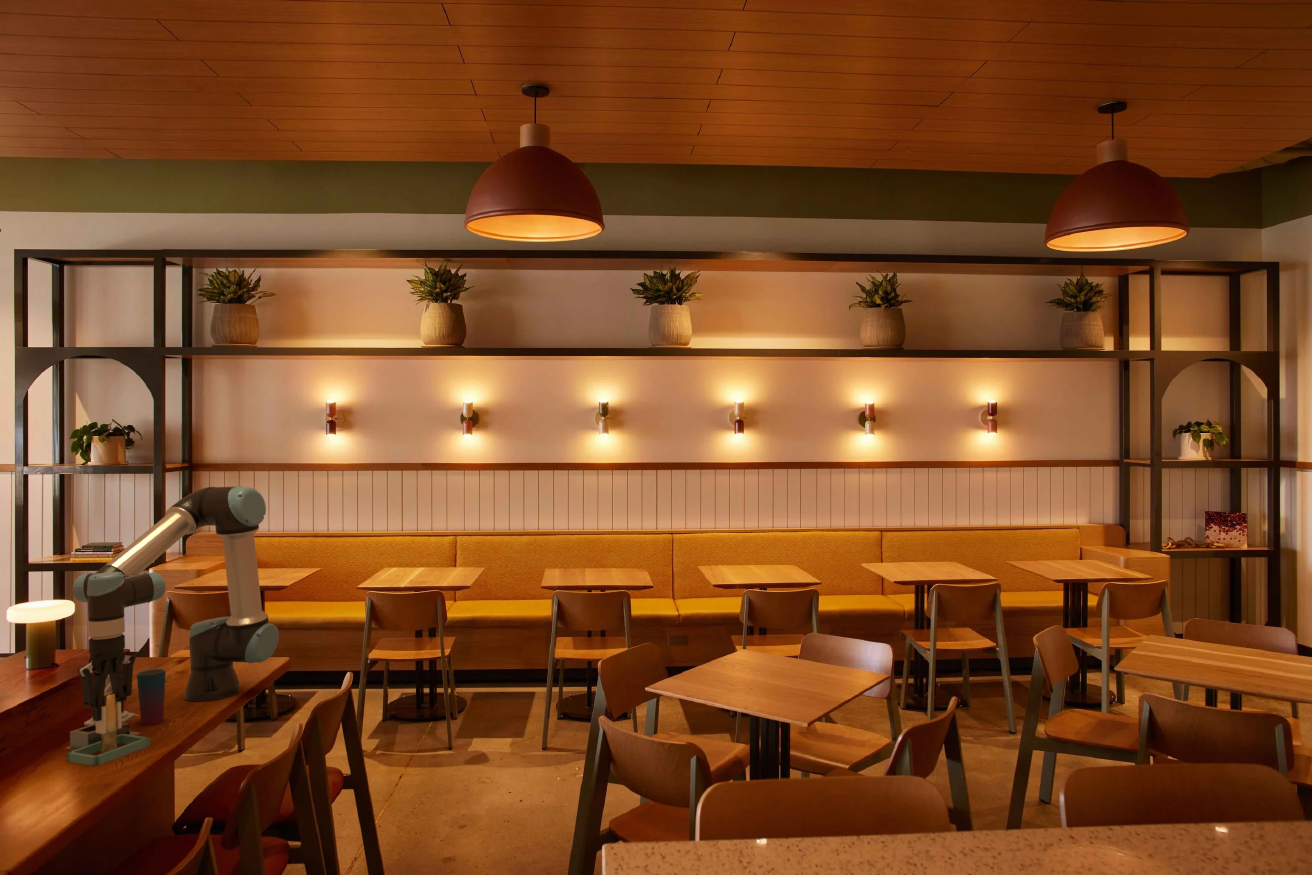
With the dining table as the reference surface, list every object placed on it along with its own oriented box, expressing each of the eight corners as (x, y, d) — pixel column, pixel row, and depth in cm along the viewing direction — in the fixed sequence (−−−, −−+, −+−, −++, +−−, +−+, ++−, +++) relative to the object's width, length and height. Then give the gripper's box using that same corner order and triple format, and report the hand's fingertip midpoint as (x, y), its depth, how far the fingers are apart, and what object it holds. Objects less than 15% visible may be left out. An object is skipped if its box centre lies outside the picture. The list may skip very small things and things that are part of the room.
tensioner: (117, 732, 223) (117, 714, 223) (141, 736, 220) (141, 717, 220) (64, 751, 210) (64, 731, 210) (88, 755, 207) (88, 735, 207)
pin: (111, 747, 208) (109, 691, 208) (119, 748, 207) (118, 692, 207) (98, 751, 205) (97, 695, 205) (107, 753, 204) (106, 696, 204)
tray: (122, 744, 214) (122, 733, 214) (149, 749, 211) (149, 737, 211) (66, 765, 201) (66, 752, 201) (95, 770, 197) (94, 757, 197)
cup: (153, 730, 224) (152, 675, 224) (131, 729, 226) (130, 674, 226) (172, 722, 231) (171, 668, 231) (151, 721, 232) (150, 667, 232)
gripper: (127, 627, 215) (129, 718, 215) (63, 642, 200) (65, 739, 200) (147, 629, 212) (149, 721, 212) (84, 644, 197) (86, 743, 197)
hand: (108, 729), depth 206 cm, fingers closed on pin, 3 cm apart
